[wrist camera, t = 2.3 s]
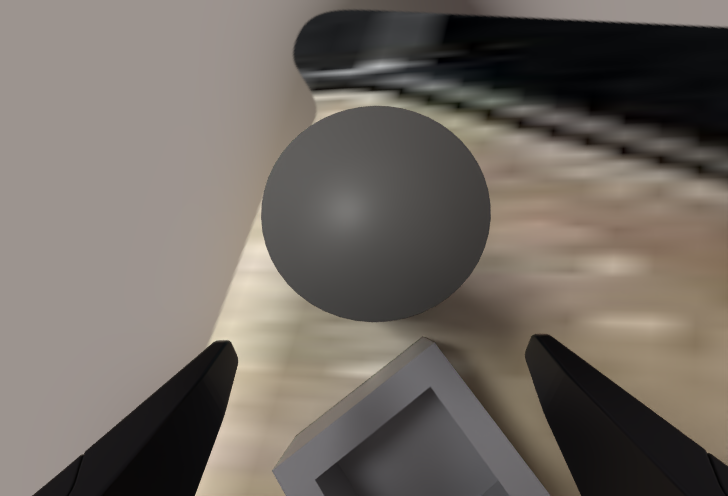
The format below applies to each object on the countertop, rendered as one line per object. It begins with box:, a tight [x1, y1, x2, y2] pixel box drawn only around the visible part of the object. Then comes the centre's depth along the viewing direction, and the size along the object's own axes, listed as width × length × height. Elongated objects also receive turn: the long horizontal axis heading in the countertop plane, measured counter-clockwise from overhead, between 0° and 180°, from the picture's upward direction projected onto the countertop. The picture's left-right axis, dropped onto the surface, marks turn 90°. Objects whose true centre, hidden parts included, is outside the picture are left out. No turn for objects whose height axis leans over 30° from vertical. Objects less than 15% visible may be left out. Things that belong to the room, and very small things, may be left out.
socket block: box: [272, 337, 550, 496], centre depth 15 cm, size 10×10×4 cm
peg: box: [261, 106, 491, 322], centre depth 13 cm, size 6×6×13 cm
